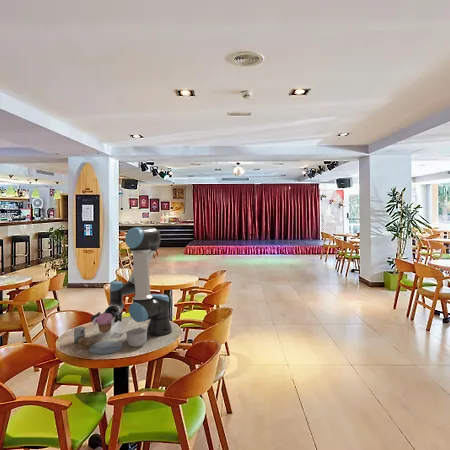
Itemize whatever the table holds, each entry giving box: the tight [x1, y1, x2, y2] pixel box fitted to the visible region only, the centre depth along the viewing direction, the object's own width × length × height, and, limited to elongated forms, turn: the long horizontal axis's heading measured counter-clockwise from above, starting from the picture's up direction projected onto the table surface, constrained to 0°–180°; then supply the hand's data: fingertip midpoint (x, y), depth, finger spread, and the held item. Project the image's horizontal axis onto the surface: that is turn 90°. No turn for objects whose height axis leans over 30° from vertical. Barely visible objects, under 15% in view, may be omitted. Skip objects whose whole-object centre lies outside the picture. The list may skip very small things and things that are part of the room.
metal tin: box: [73, 326, 86, 345], centre depth 206 cm, size 6×6×8 cm
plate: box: [88, 340, 123, 356], centre depth 196 cm, size 17×17×1 cm
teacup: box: [125, 327, 148, 348], centre depth 202 cm, size 14×11×8 cm
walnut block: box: [77, 336, 93, 349], centre depth 200 cm, size 6×6×4 cm
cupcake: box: [96, 312, 113, 334], centre depth 196 cm, size 9×9×10 cm
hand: (102, 323), depth 191 cm, fingers closed on cupcake, 9 cm apart
